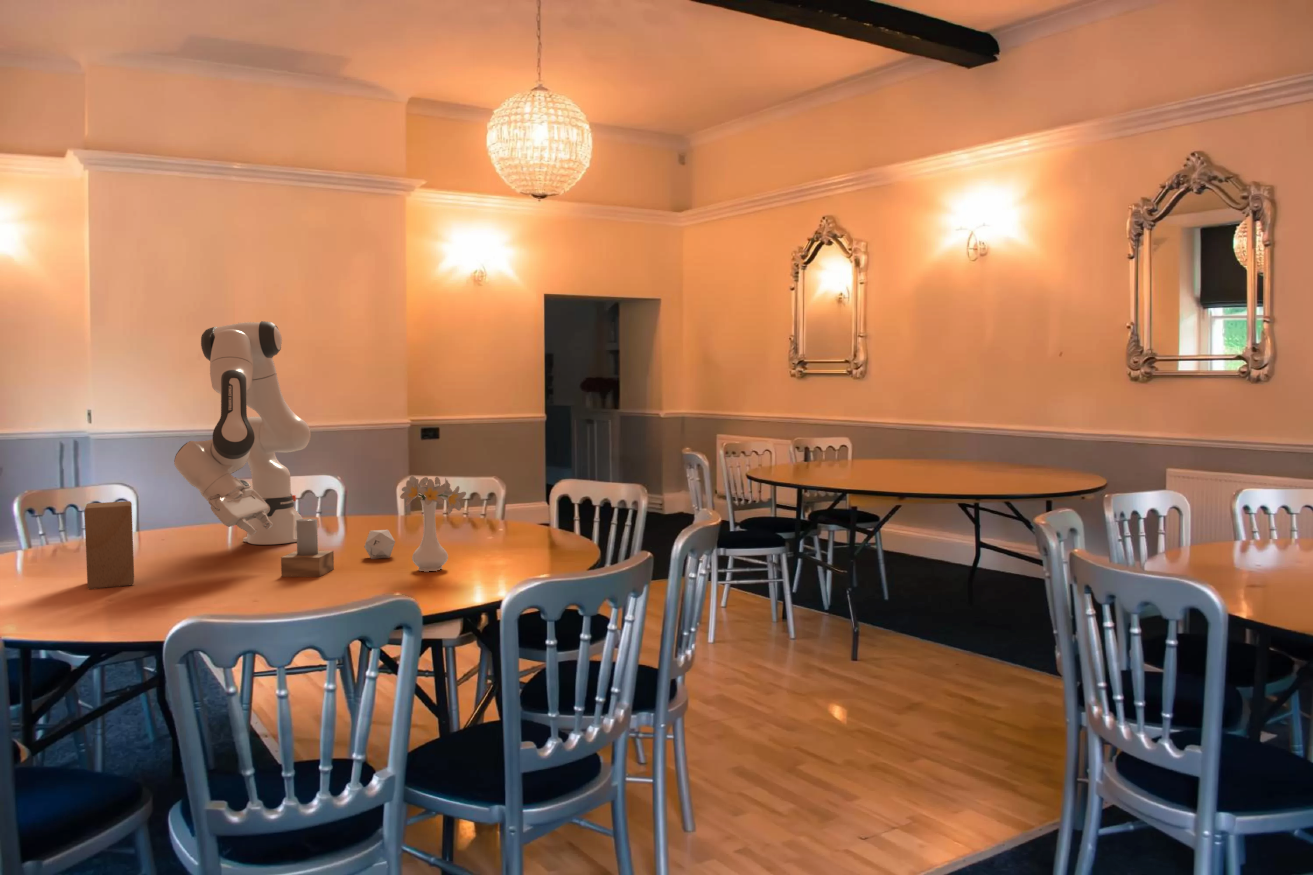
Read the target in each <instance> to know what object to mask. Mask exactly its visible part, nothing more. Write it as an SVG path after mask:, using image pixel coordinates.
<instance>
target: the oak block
mask: <svg viewBox="0 0 1313 875" xmlns="http://www.w3.org/2000/svg"><path fill="white" fill-rule="evenodd" d="M334 554H335V553H334V550H318V554H316V555H310V556H299V555H297V550H294V551H292V552H290V553H288V554H286V555H283V556H281V557H280V560H281V561H280V565H281V566H280V569H281V570H280V571H281V577H285V578H286V577H288V578H289V577H292V578H293V577H294V578H295V577H296V578H298V577H299V578H300V577H302V578H303V577H304V578H307V577H308V578H313V577H314V578H320V577H323V576H324V575H326V574H328V573H330V572H331V571H333V570H334V568H335V564H334V562H335V561H334V559H335V556H334Z"/></svg>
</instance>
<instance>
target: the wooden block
mask: <svg viewBox="0 0 1313 875" xmlns="http://www.w3.org/2000/svg"><path fill="white" fill-rule="evenodd" d="M132 506H133V504H132V501H131V500H130V501H127V500H125V501H109V502H107V501H106V502H89V503H87V504H86V506H85V508H84V528H85V532H84V533H85V554H86V556H85V558H86V559H85V560H86V580H87V581H86V582H87V584H86V585H87V589H88V590H95V589H94V588H97V589H104V588H105V587H108V588H116V587H127V586H128V587H129V586H133V585H134V584H135V567H134V566H135V565H134V564H135V563H134V562H135V559H134V534H133V533H134V532H133V507H132ZM105 589H106V588H105Z"/></svg>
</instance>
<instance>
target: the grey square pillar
mask: <svg viewBox="0 0 1313 875" xmlns="http://www.w3.org/2000/svg"><path fill="white" fill-rule="evenodd" d="M296 529H297V542H296V551H297V555H299V556H310V555H316V554H318V551H319V541H318V540H319V534H318V533H319V532H318V519H317V518H303V519H299V520H296Z"/></svg>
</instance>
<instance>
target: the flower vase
mask: <svg viewBox="0 0 1313 875" xmlns="http://www.w3.org/2000/svg"><path fill="white" fill-rule="evenodd" d="M444 478H445V479H444V480H445V481H444V483H442V484H441V479H440V477H439V476H435V477H434V480H433V479H431V478H429V477H428V476H426V477H423V478H421V479H420V480H419V479H418V478H416V477H415V476H413V475H410V477H409V479H408V480H406V483H405V486H403V487H402V488H401V491H402V493H401V494H400V497H399V498H400V500H401V499H402V500H405V499H406V502H405V506H406V507H408V506H409V505H410V503H412V501H413V500H415V499H416V498H417V497H421V499H420V503H421V506H422V511H423V534H422V539H421V541H420V544H419V546H418V547H417V548H416V549H415V550H414V552H413V553H412V556H411V560H412V562H413V563H414V564H415V566H416V567H418V568H417V569H418V571H419V572H421V571H424V573H430V572H429V571H436V572H438V571H437V570H440V569H443V566H444V565H445V564H446V563H447V562H448V559H449V554H448V552H447V551H446V549H445V548H444V547H443V546H442V545H441V543H440V542H439V539H438V537H437V525H436V511H437V510H436V509H437V504H439V505H443V504H444V503H445V501H446V502H447V503H448V507H447V513H448V514H451V513H452V512H453V509H455V510H457V512H459V511H461V510H462V503H461V502H460V500H462V499H464V498H465V497H466V495H467V492H466V491H462V492H461V491H460V486H459V485H457V486H456V487H455V488H454V490H452V489H451V484H450V483H449V481H448V479H447V478H446V477H444ZM459 491H460V492H459ZM444 500H445V501H444ZM440 571H441V570H440Z"/></svg>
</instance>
